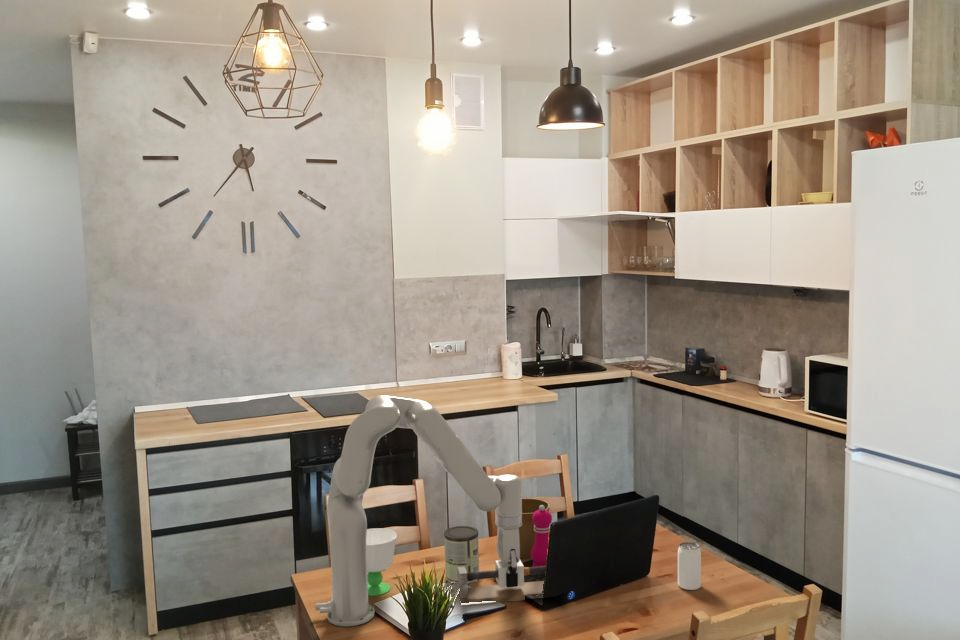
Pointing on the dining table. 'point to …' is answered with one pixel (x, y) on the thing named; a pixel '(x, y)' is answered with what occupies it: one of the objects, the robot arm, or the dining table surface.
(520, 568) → the white cubic block
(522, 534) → the plant pot
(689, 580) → the can
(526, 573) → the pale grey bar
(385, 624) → the dining table surface
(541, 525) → the pepper mill
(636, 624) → the dining table surface
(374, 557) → the cup
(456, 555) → the coffee can
